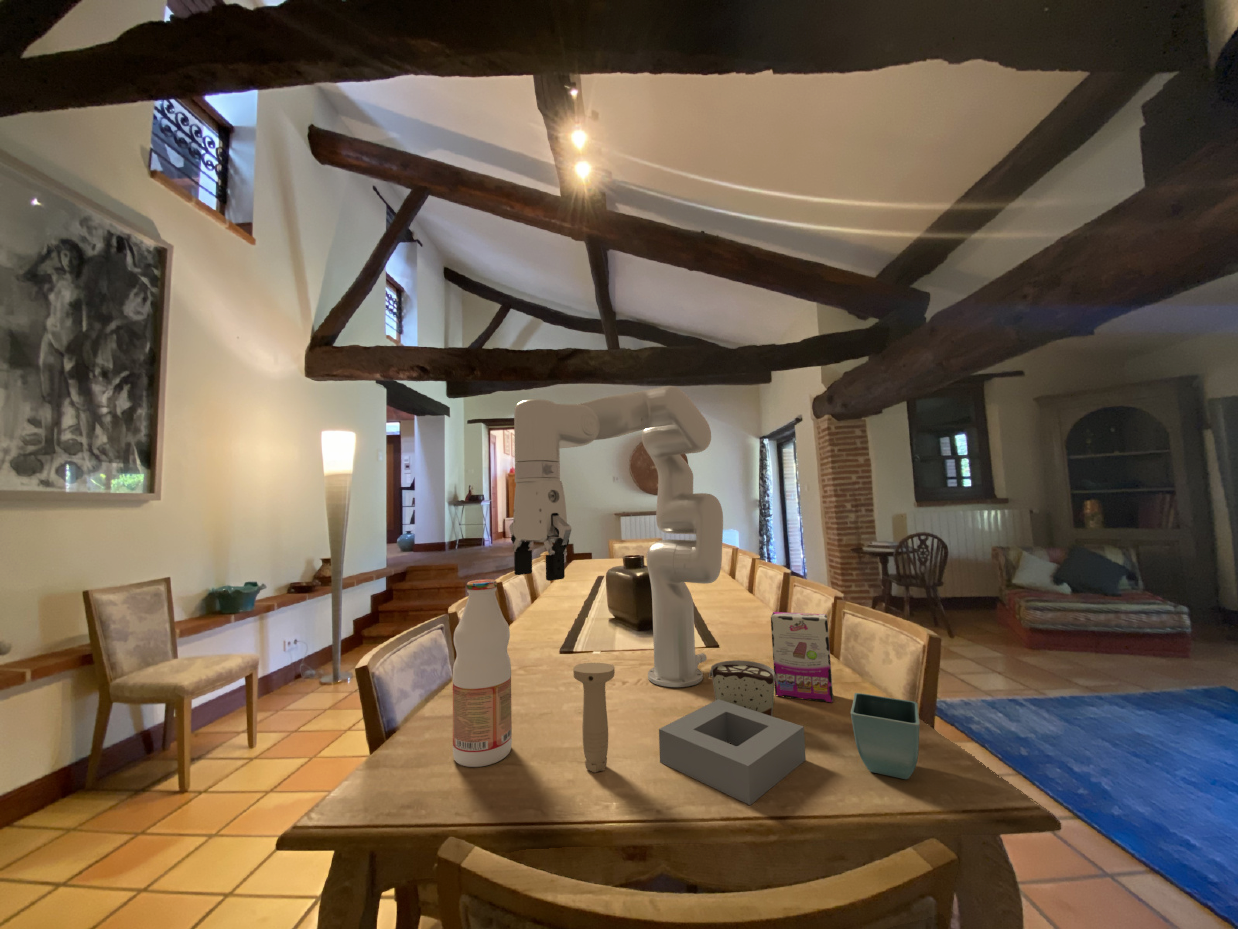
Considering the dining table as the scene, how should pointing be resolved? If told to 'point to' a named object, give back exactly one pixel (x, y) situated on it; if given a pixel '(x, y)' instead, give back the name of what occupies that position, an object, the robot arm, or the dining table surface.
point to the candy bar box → (802, 656)
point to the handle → (594, 712)
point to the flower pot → (886, 734)
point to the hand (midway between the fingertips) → (538, 576)
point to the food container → (745, 684)
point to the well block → (733, 749)
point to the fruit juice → (481, 680)
